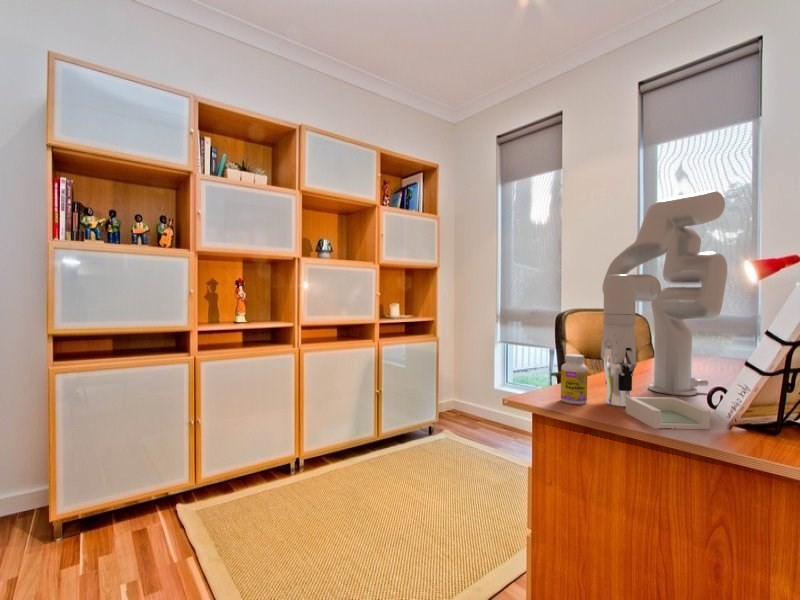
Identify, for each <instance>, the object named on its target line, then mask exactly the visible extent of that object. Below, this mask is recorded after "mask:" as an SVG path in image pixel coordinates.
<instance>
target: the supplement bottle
mask: <svg viewBox="0 0 800 600" xmlns="http://www.w3.org/2000/svg"><path fill="white" fill-rule="evenodd" d="M564 358H565V363H563V364H562V365H561V366H560V367H561V369H560V374H561V375H560V400H561V401H562V402H564V403H565V404H569V405H585V404H586V403H587V401H588V367H587V365H585V364H584V360H585V356H584V355H583V354H578V353H577V354H576V353H568V354H565V355H564Z"/></svg>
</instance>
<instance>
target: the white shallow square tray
mask: <svg viewBox="0 0 800 600" xmlns="http://www.w3.org/2000/svg"><path fill="white" fill-rule="evenodd" d="M625 413H626V414H627V415H629V416H631V417H633V418H634V419H637V420H638V421H640V422H641V423H643V424H645V425H647V426H649V427H650V428H652V429H654V430H655V429H656V430H657V429H659V428H672V429H671V430H710V429H711V427H710V426H711V425H710V424H711V410H708V409H705V408H703V407H700V406H698V405H695V404H693V403H691V402H688V401H686V400H683V399H680V398H678V397H674V396H673V397H672V396H671V397H670V396H668V397H667V396H662V397H661V396H630V397H626V407H625ZM674 428H676V429H674ZM659 430H660V429H659Z"/></svg>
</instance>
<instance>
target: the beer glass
mask: <svg viewBox="0 0 800 600" xmlns="http://www.w3.org/2000/svg"><path fill="white" fill-rule="evenodd" d="M611 352H612V349H607V348H605V356H604V360H603V369H604V376H605V383H606V382H607V384H606V386H607V387H606V388H607V389H606V391H607V392H606V398H605V404H606V405H608V406H610V407H617V408H626V397H631V395H630V393H631V391H620V390H619V389H618V381H619V375H620V370H619V364H618V365H616V364H613V363H612V359H611ZM622 363H628V361H627V358H626V356H625V358H624V360H623V362H622ZM625 367H626V366H623V368H624V369H625Z"/></svg>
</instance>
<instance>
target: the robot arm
mask: <svg viewBox="0 0 800 600" xmlns="http://www.w3.org/2000/svg"><path fill="white" fill-rule="evenodd" d="M725 207H726V202H725V197H724V196H723V194H722V193H721V192H719V191H718V190H708V191H707V190H706V191H703V192H702V191H701V192H696V193H691V194H685V195H678V196H675V197H669V198H667V199H661V200H658V201H656V202H654V203H651V205H649V207H648V209H647V211H646V212H645V216H644V218H643V220H642V223H641V226H640V229H639V231H638V234H637V236H636V239H635V241H634V242H633V243H632V244H631V245H629V246H627V247H626V248H625V249H624V250H623V251H621V252H620V253H619V254H618V255H617V256H616V257H615V258H614V259H613V260H612V261H611V263H610V264H609V266H608V269H607V271H606V273H605V276H604V279H603V282H602V294H603V328H602V333H601V334H602V335H601V346H600V358H601V360H603V361H604V356H605V348H607V349H612V352H611V359H612V363H613V364H616V365H618V364H619V370H620V375H619V381H618V389H619V390H620V391H630V392H631V391H633V375H634V371H635V368H636V367H637V365H638V364H637V361H636V355H637V351H636V349H637V348H636V347H637V346H636V345H637V344H636V334H635V333H636V332H635V327H636V303H640V302H641V303H642V302H643V303H644V302H646V303H647V302H650V303H651V309H652V316H653V325H654V342H653V343H654V351H653V352H654V354H653V357H654V358H653V362H654V363H653V366H654V367H653V382H651V383H648V385H647V388H648V390H651V391H653V392H656V393H661V394H666V395H674V396H695V395H698V393H699V391H698V389H697V388H696V387H698V386H699V387H708V386H709V381H708V379H698V378H696V377H694V376H692V359H693V358H692V357H693V355H692V352H693V351H692V349H693V346H692V345H693V335H692V331H691V329H690V328H689V326H688V325H687V323H686V322H685V320H693V321H694V320H695V321H713V320H715V319H717V318H718V317H719V315H720V314H721V311H722V309H723V308H722V307H723V303H724V297H725V291H726V284H727V278H728V277H727V276H728V263H727V260H726V257H725V256H724V255H723V254H721V253H720V252H717V251H716V252H715V251H704V252H703V251H701V252H700V250H701V247H702V246H701V245H702V238H701V237H700V235H699V234H698V233H697V232H696V230H695V229H693V228H692V227H691V226H699V225H703V224H706V223H709V222H713V221H715V220H717V219H719V218H720V217H721V216H722V215H723V213H724V211H725ZM664 254H665V258H664V262H663V269H662V278H663V280H664V281H665V282H666V283H668V284H670V285H678V286H676V287H675V286H671V287H669V286H668V287H661V282H660V280H659V279H658V278H657V277H655V276H654V275H651V274H647V273H641V274H640V273H639V274H629V272H631V271H632V270H634V269H635V268H637V267H639V266H640V265H643V264H646V263H649V262H650V261H653V260H655V259H657V258H659V257H662V256H663V255H664ZM679 285H681V286H679ZM683 285H685V286H683ZM686 285H689V287H688V286H687V287H686ZM691 285H692V286H693V285H694V287H692V286H691ZM695 285H697V286H695ZM698 285H700V286H698ZM625 356H626V358H627V361H628V363H622V362H623V360H624V358H625ZM623 366H626V367H625V369H624V368H623ZM605 384H606V385H607V382H606V381H605Z"/></svg>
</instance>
